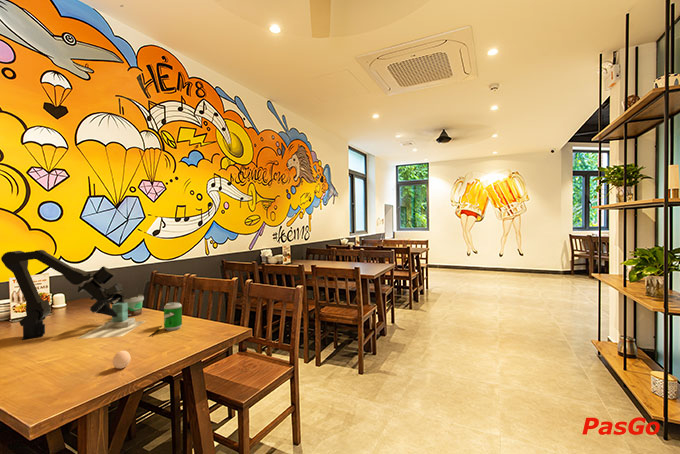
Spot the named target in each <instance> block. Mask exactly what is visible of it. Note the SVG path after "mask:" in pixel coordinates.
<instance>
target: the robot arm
mask: <svg viewBox="0 0 680 454" xmlns="http://www.w3.org/2000/svg"><path fill="white" fill-rule="evenodd" d="M0 259H1V262H2V263H3V265H4V266H5V268H7V269H8V270H9V271H11V273H12V274H13V276H14V278H15V280H16V282H17V285H18V286H19V289H20V291H21V294H22V295H23V298H24V300H25V303H26V304H25V316H24V317H23V318H22V319H20V320H19V322H18V323H19V324H20V326H21V327H22V341H24V340H28V339H34V338H40V337H41V338H42V337H43V336H44V335H45V333H46V323H44V320H45V319H46V317H48V316H49V315H50V313H51V311H52V309H51V308H52V306H51V304H50V301H49V299H45V300H44V299H43V298H42V297H41V296H40V294H39V291H38V290H37V288H36V284H35V283H34V279H33V277H32V275H31V273H30V272H29V269H28V268H29V261H31V260H37V261H38V262H40V263H42V264H44V265H45V266H47V267H49V268H51V269H52V270H54V271H56V272H58V273H59V274H61V275H62V276H63V277H64V278H65V280H67V281H68V282H69V283H70V284H72V285H74V286H76V285H78V286H77V288H78V289H77V293H82V292H84V291H85V293H87V295H89V297H90V300H92V301H93V300H95V302H94V303H93V304H92V305H91V306H90V307H89V311H90V312H91V313H93V314H94V313H95V314H101V315H106V316H109V317H112V316H113V317H117V316H118V315H117V314H116V313H115V312H114V310H113V309H112V305H114V304H116V303H124V299H125V297H126V293H124V292H123V285H122V284H121V283H120V282H117V283H115V284H113V286H111V287H109V288H108V287H103V286H102V285H106V284H108V282H110V280H112V279H113V278H114V277H115V276H116V272H114V271H113V270H112V269H110V268H108V267H106V266H101V267H100V268H99V269H98V270H97V271H96V272H95V273H91V272H88V271H85V270H82V269H80V268H77V267H73V266H70V265H69V264H67V263H65V262H64V261H62V260H60V259H59V258H57V257H55V256H54V255H52V254H50V253H48V252H47V251H45V249H44V250H43V249H38V250H33V251H26V252H25V251H22V250H14V251H7V252H5V253H3V254H2V255H1V258H0ZM83 283H84V284H83ZM81 284H82V285H81ZM110 304H111V305H110Z"/></svg>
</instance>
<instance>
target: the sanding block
mask: <svg viewBox="0 0 680 454" xmlns="http://www.w3.org/2000/svg"><path fill="white" fill-rule="evenodd" d="M111 308H112V309H113V310H114V312H115V313H116V314H117V315H118V316H117V317H113V316H111V319H110V320H108V321H106V322H104V323H103V325H104V328H124V327H129V326H131V325H133V324H134V323H135V321H136V318H135V317H128V302H127V303H116V304H114V305H112V304H111Z"/></svg>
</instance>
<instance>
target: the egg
mask: <svg viewBox="0 0 680 454" xmlns="http://www.w3.org/2000/svg"><path fill="white" fill-rule="evenodd" d="M130 362H131V354H130V353H129V352H128V351H126V350H120V351H118V352H116V354H115V355H114V356H113V358H112V365H113V367H114V368H116V369H117V370H118V369H120V370H121V369H124V368H126V367H127V366H128V365H129V364H130Z"/></svg>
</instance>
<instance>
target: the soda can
mask: <svg viewBox="0 0 680 454" xmlns="http://www.w3.org/2000/svg"><path fill="white" fill-rule="evenodd" d="M182 309H183V305H182V304H181V303H180V302H178V301H175V302H173V301H172V302H168V303H167V302H166V304H165V305H164V307H163V328H164V329H165V330H166V331H169V332H171V331H172V332H173V331H177V330H179V329H181V327H182V326H183V310H182Z"/></svg>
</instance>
